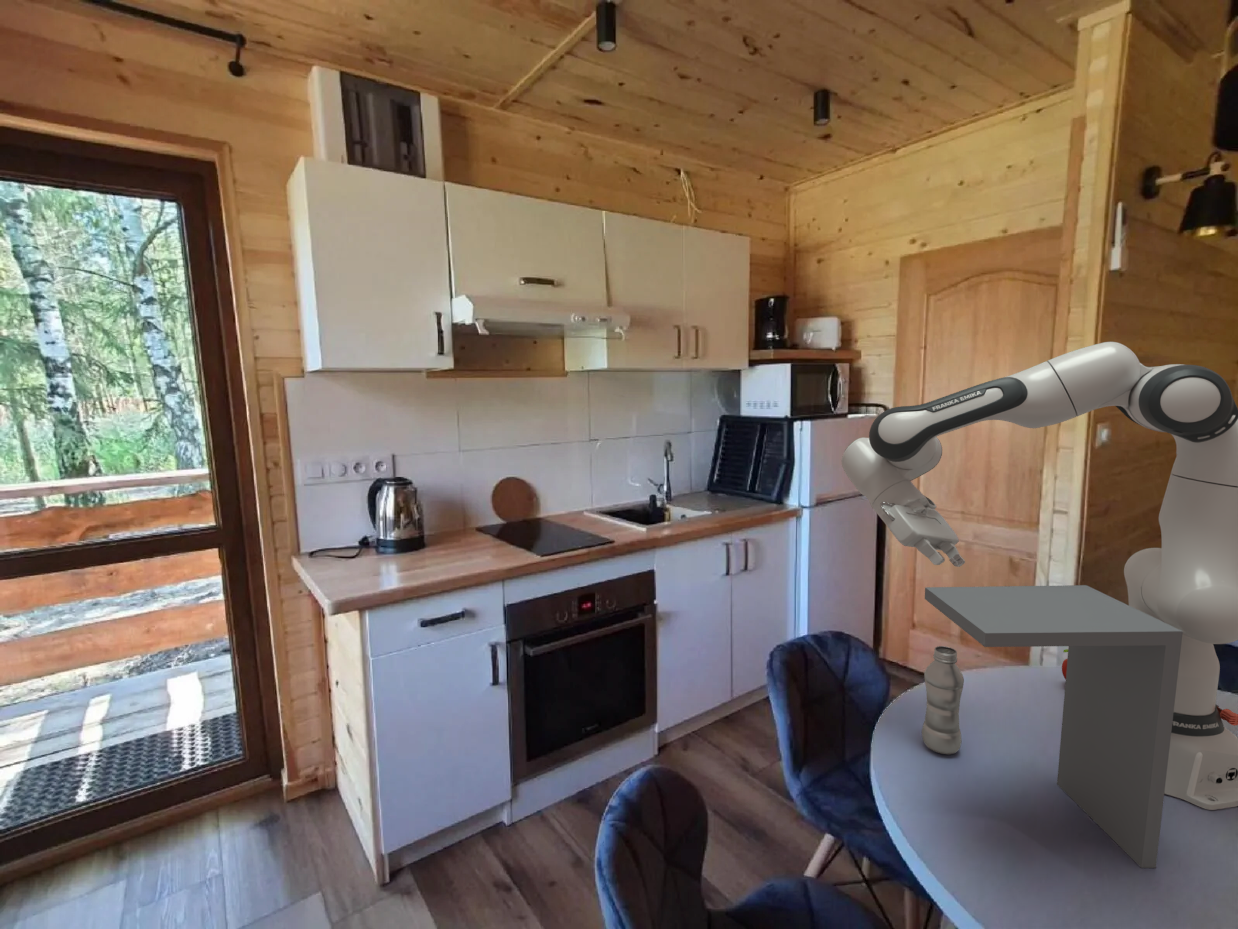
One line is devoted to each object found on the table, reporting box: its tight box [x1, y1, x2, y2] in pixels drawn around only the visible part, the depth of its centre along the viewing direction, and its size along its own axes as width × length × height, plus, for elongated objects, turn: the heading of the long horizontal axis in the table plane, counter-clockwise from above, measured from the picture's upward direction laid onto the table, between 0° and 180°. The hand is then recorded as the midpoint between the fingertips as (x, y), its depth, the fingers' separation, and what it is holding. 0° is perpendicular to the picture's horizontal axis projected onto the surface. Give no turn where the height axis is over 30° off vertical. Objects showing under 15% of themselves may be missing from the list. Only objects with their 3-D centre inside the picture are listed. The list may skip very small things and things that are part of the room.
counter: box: [924, 584, 1183, 869], centre depth 94 cm, size 26×18×36 cm
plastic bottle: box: [921, 645, 965, 755], centre depth 114 cm, size 6×7×20 cm
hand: (951, 564), depth 110 cm, fingers open, 8 cm apart
